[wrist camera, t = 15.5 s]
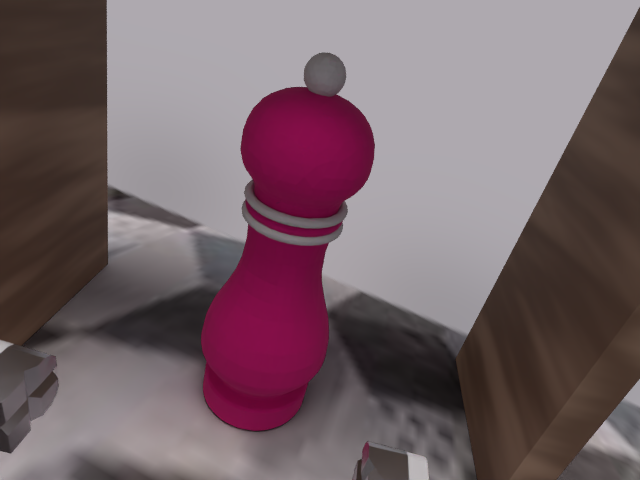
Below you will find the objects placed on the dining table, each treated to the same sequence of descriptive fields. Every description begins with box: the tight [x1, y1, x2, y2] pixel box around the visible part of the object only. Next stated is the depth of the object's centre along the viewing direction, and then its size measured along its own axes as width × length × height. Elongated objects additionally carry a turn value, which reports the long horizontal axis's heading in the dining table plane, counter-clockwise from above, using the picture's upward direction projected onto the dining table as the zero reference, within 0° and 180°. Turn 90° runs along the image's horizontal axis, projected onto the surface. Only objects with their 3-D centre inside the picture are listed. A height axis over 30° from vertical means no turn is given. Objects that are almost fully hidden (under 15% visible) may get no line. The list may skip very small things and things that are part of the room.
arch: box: [0, 0, 640, 480], centre depth 23 cm, size 32×12×29 cm, turn 82°
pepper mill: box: [201, 53, 375, 431], centre depth 23 cm, size 7×7×20 cm
